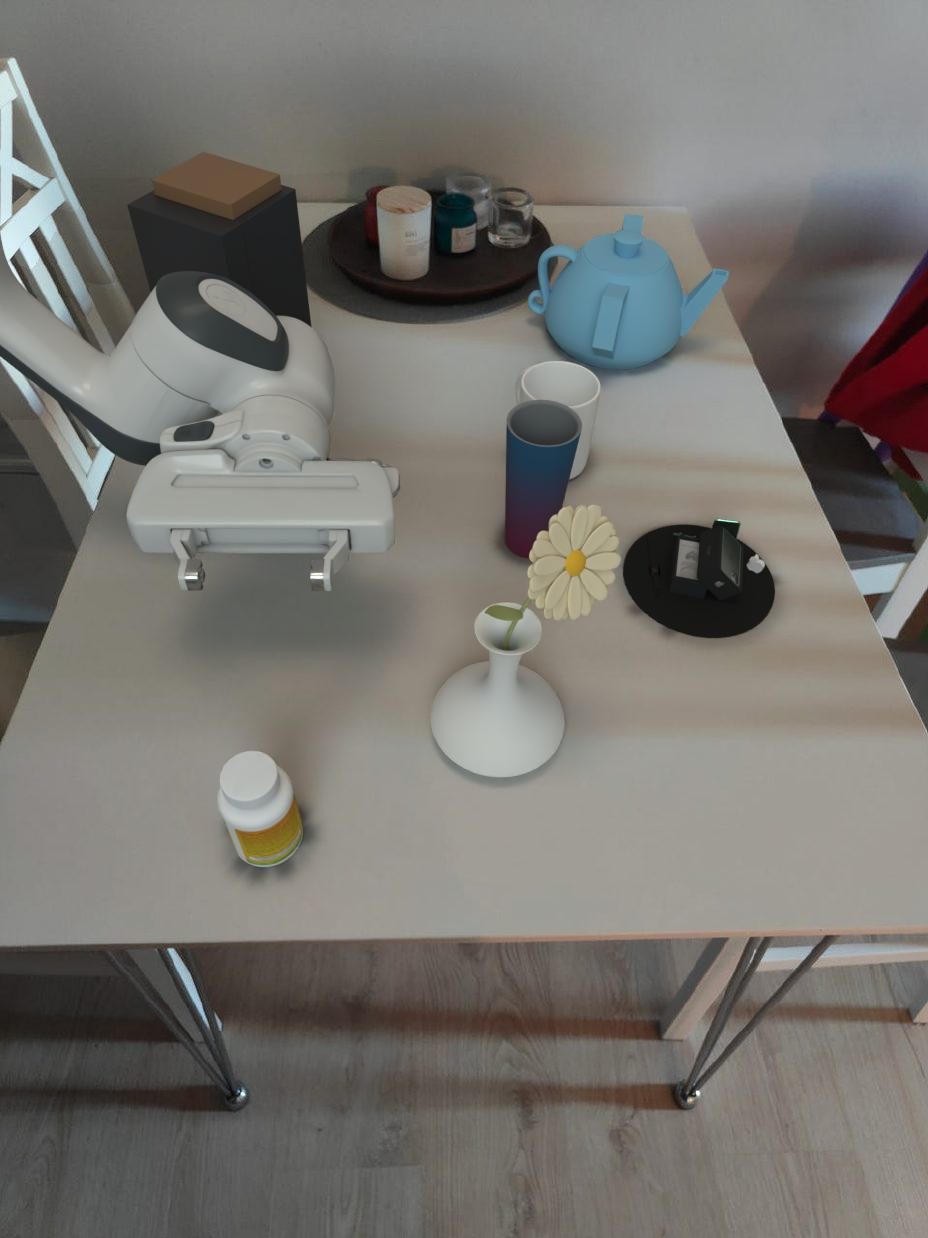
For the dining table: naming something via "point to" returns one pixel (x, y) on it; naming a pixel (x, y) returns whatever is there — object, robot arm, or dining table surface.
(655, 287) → the teapot
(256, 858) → the supplement bottle
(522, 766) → the flower in vase
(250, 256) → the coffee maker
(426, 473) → the dining table surface
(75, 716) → the dining table surface
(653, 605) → the black round display stand
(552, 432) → the cup
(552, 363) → the mug
